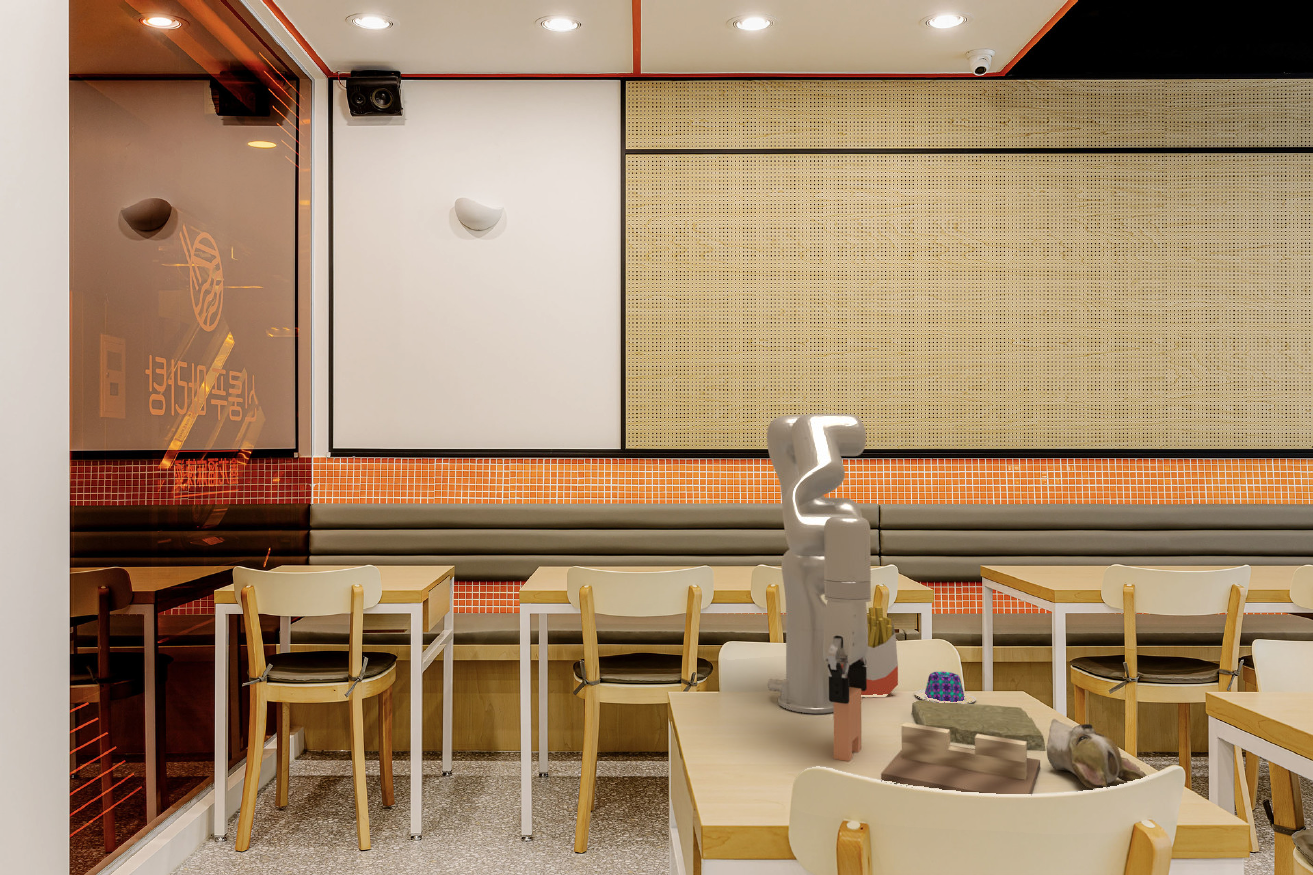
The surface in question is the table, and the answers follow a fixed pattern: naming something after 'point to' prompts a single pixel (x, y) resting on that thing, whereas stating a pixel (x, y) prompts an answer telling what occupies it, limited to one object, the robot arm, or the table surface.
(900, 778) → the slotted stand
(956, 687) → the pudding
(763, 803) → the table surface
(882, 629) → the french fries container
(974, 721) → the decorative tile
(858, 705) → the notched plate
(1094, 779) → the ceramic sculpture
